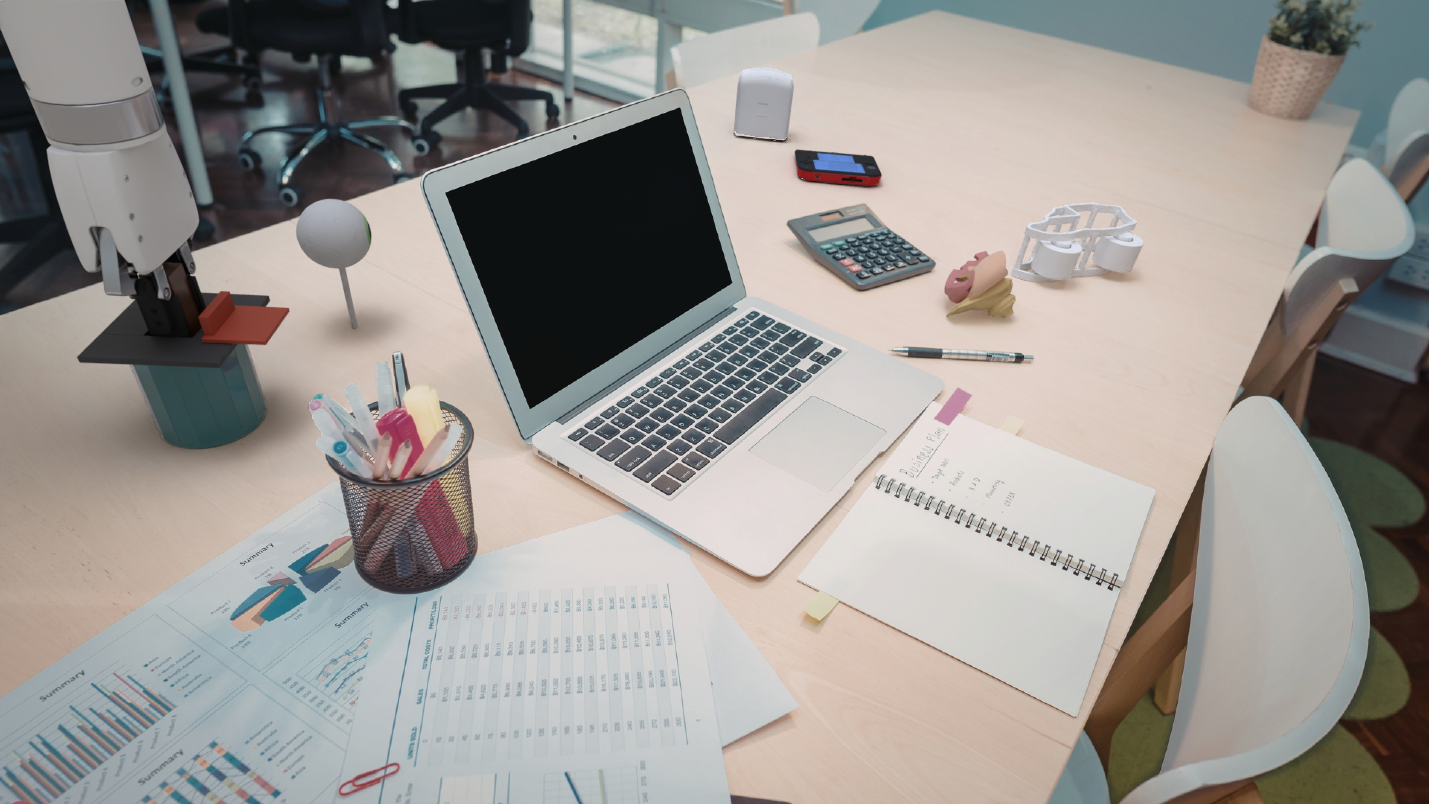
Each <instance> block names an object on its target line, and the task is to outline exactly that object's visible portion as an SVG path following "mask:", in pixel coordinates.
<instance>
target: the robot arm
mask: <svg viewBox="0 0 1429 804" xmlns="http://www.w3.org/2000/svg"><path fill="white" fill-rule="evenodd" d="M0 31H1V33H2V36H3V39H4V40H5V43H6V45H7V47H8V49H9V52H10V55H11V57H12V59H13V62H14V64H15V67H16V69H17V71H18V74H19V76H20V79H21V81H22V83H23V86H24V88H25V91H26V92H27V95H28V97H29V101H30V103H31V105H32V108H33V109H34V112H35V115H36V117H37V119H38V121H39V124H40V126H41V128H42V131H43V133H44V136H45V138H46V140H47V142H48V144H49V145H50V146H48V148H46V155H47V161H48V167H49V172H50V177H51V181H52V185H53V189H54V192H55V196H56V200H57V202H58V203H57V204H58V205H59V208H60V212H61V215H62V217H63V221H64V223H65V226H66V230H67V232H68V235H69V237H70V241H71V242H72V245H73V248H74V251H75V253H76V255H77V257H78V259H79V261H80V264H81V265H82V267H83V269H84V270H85V271H86V272H87V273H93V274H94V273H99V272H101V273H102V275H101V276H102V283H103V291H104V293H105V295H106V296H109V297H110V296H111V297H129V299H131V300H135V299H136V301H137V304H138V306H139V309H140V311H141V314H142V316H143V318H144V321H145V323H146V326H147V328H148V331H149V333H150V334H151V335H152V336H163V337H188V336H189V335H190V334H191V329H190V326H189V323H188V321H187V318H186V315H185V312H184V310H183V307H182V304H181V302H180V299H179V296H178V295H177V294H171V289H170V286H169V283H168V280H167V277H166V274H165V272H164V269H163V266H162V263H163V262H168V263H182V265H183V268H184V271H185V274H186V277H187V280H188V283H189V286H190V288H191V291H192V294H193V297H194V300H195V303H196V305H197V308H198V311H199V314H201V313H202V312H203V311H204V310H205V309H206V305H205V302H204V300H203V297H202V294H201V292H202V291H201V289H200V288H201V287H200V285H199V282H198V280H197V277H196V275H195V274H196V272H197V264H196V262H195V259H194V256H193V253H192V250H193V245H194V243H193V241H192V240H193V238H194V235H195V232H196V231H197V228H198V227H199V224H200V218H199V217H200V215H199V212H198V211H199V210H198V208H197V204H196V200H195V198H194V197H195V196H194V193H193V191H192V188H191V185H190V182H189V180H188V177H187V174H186V171H185V169H184V167H183V164H182V162H181V159H180V157H179V155H178V153H177V150H176V148H175V145H174V144H173V140H172V139H171V136H170V135H169V134H168V131H167V126H166V123H165V120H164V119H165V118H164V115H163V114H162V110H161V106H160V104H159V101H158V97H157V94H156V92H155V89H154V85H153V83H152V80H151V77H150V74H149V71H148V68H147V65H146V61H145V58H144V56H143V52H142V50H141V49H142V48H141V46H140V44H139V40H138V38H137V34H136V31H135V28H134V24H133V22H132V19H131V16H130V12H129V10H128V6H127V4H126V1H125V0H0ZM139 274H140V275H146V274H149V275H150V278H151V281H152V282H151V281H149V280H147V279H139V277H138V275H139Z"/></svg>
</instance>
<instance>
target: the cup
mask: <svg viewBox="0 0 1429 804" xmlns="http://www.w3.org/2000/svg"><path fill="white" fill-rule="evenodd" d="M151 336H152V335H151ZM129 368H130V370H131V372H132V375H133V377H134V379H135V382H136V383H137V387H138V388H139V391H140V393H141V395H142V398H143V400H144V402H145V404H146V407H147V409H148V411H149V414H150V416H151V419H152V421H153V423H154V425H155V428H156V430H157V432H158V433H159V435H160V436H161V438H162V440H164V441H165V442H167V443H168V444H169V445H171V446H174V447H178V448H182V449H190V450H201V449H210V448H216V447H220V446H223V445H224V446H225V445H228V444H230V443H232V442H235V441H238V440H240V439H241V438H244V437H246V436H247V435H249V434H251V433H252V432H253V431H254V430H255V429H257V428H258V427H259V426H260V425H261V424H262V422H263V421H264V419H265V417H266V414H267V410H268V409H267V404H266V398H265V395H264V392H263V389H262V385H261V382H260V379H259V376H258V372H257V370H256V366H255V363H254V360H253V357H252V354H251V351H250V348H249V344H237V346H236V347H235V348H234V350H233V351H232V352H231V354H230V355H229V356H228V358H227V359H226V360H225V362H224V363H223V364H222V366H221V367H220V368H205V367H179V366H153V365H129Z"/></svg>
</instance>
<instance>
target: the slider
mask: <svg viewBox="0 0 1429 804" xmlns="http://www.w3.org/2000/svg"><path fill="white" fill-rule="evenodd" d="M218 293H219V294H218V295H217V296H216V297H215V298H214V299H213V301H212V302H211V303H210V304H209V305H208V306H207V307H206V309H205V310H204V311H203V312H202V313H201V314H200V316H199V317H198V318H199V321H200V323H201V326H202V329H203V332H204V334H205V335H204V336H203V337H202V342H203V343H227V344H248V345H252V346H253V345H254V346H267V344H268V343H269V342H270V340H271V339H272V337H273V336H274V334H275V333H276V332H277V330H278V329H279V327H280V326H281V325H282V323H283V322H284V321H285V319H286V317H287V316H288V314H289V313H290V311H291V310H290V308H289V307H281V306H280V307H279V306H266V307H261V306H239V305H234V304H233V300H232V297H231V294H232V293H231V292H230V291H229V290H228V291H226V290H220V291H219V292H218Z"/></svg>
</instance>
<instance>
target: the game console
mask: <svg viewBox="0 0 1429 804" xmlns="http://www.w3.org/2000/svg"><path fill="white" fill-rule="evenodd" d="M794 159H795V164H796V171H797V176H798V177H799V178H800V179H801V178H803V179H805V180H804V181H806V180H808V181H807V182H812V181H818V182H817V183H823V182H826V183H825V184H834V185H836V184H837V185H846V186H848V185H849V186H860V187H874V186H876V185H879V183H880V181H881V178H882V176H883V174H882V172H881V170H880V168H879V165H878V163H877V161H876V158H875V157H874V156H873V155H867V154H856V153H843V152H835V151H832V152H831V151H820V150H809V149H808V150H807V149H797V148H796V149H795V150H794ZM803 179H802V180H803Z"/></svg>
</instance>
